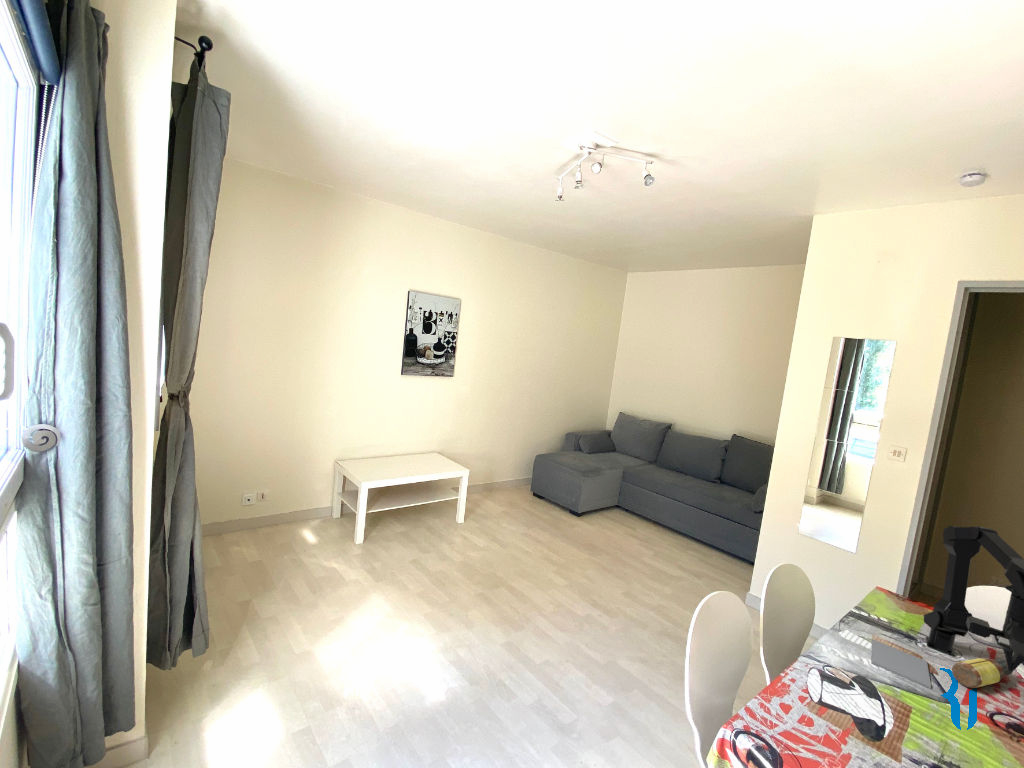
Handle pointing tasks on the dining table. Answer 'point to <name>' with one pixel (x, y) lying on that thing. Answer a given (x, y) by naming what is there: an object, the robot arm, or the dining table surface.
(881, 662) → the rubber mat
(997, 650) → the dining table surface
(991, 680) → the sauce bottle
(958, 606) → the robot arm
